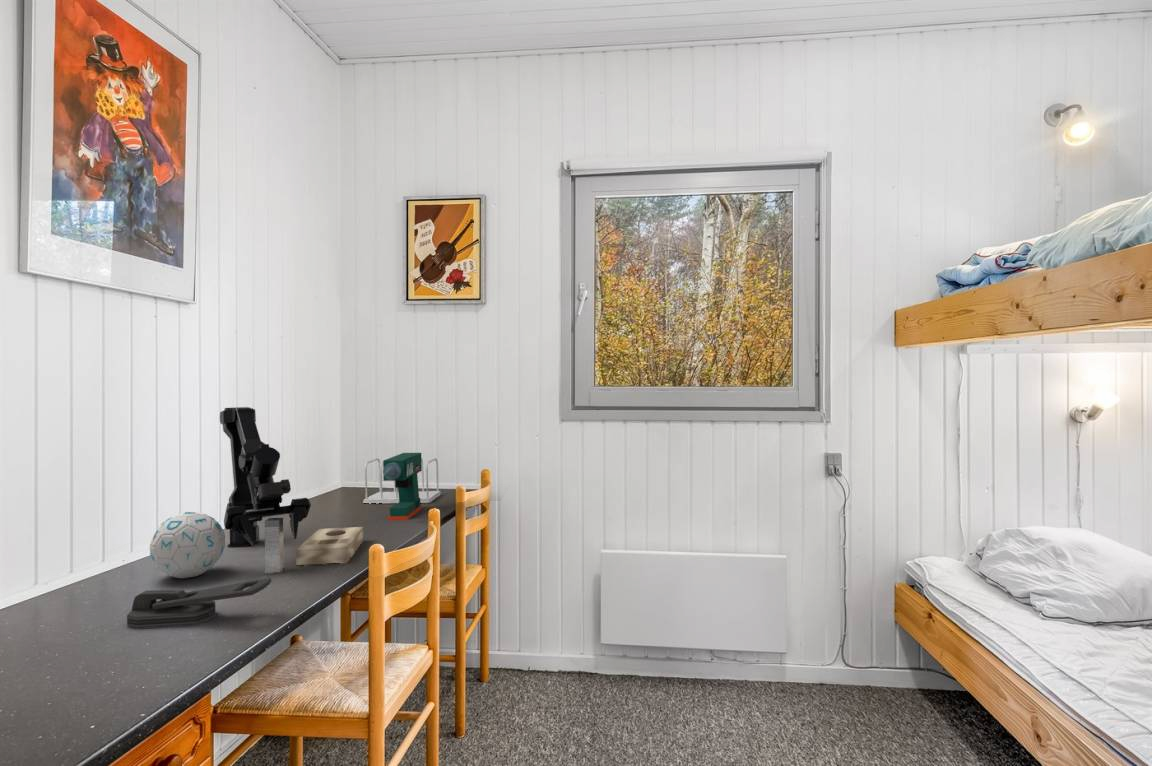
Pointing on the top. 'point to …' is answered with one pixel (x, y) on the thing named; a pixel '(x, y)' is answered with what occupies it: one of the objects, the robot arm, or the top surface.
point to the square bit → (274, 545)
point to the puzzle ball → (187, 544)
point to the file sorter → (394, 496)
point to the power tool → (404, 483)
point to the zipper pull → (185, 604)
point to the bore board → (330, 546)
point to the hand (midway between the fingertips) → (275, 541)
